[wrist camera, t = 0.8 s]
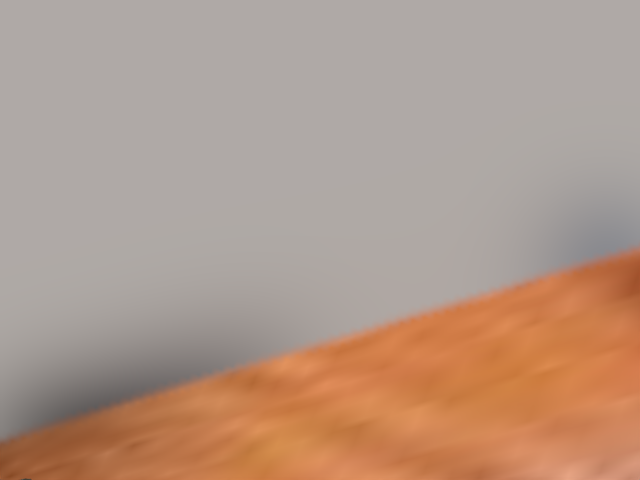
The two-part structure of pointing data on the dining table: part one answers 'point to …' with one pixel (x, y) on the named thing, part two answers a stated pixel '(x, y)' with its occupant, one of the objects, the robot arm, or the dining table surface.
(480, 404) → the dining table surface
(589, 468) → the dining table surface
